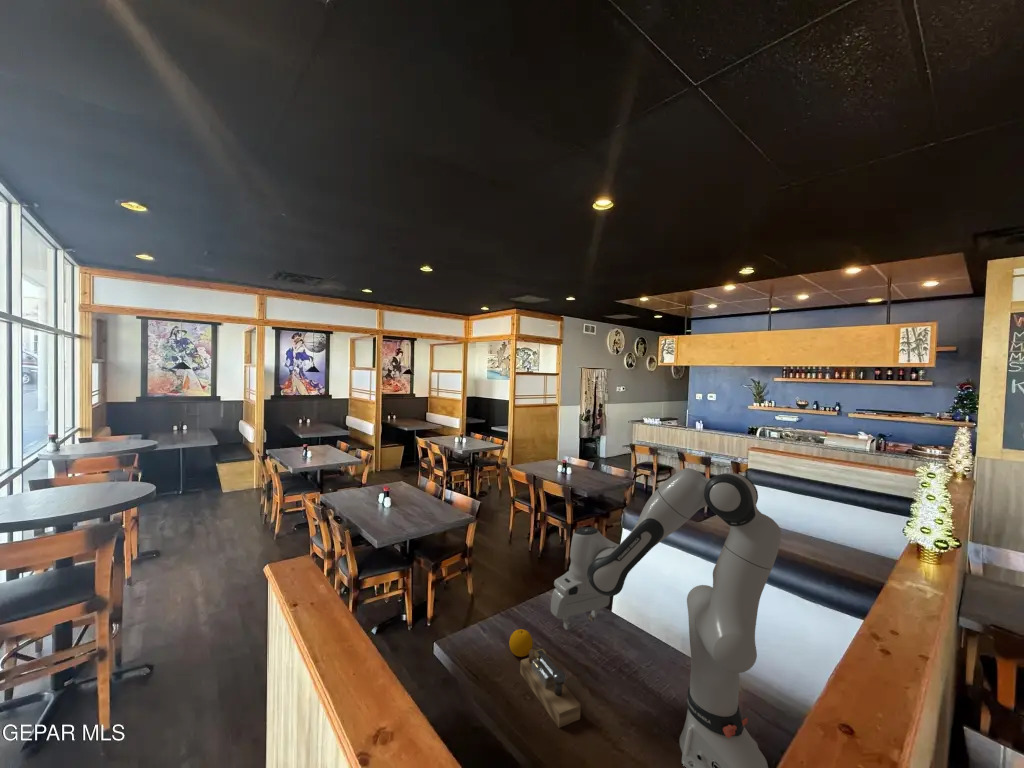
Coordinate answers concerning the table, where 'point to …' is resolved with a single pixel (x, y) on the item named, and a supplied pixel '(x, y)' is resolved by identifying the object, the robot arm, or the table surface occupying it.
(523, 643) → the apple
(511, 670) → the table surface
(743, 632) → the robot arm
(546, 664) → the lever
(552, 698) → the plane body
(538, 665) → the lever cap
